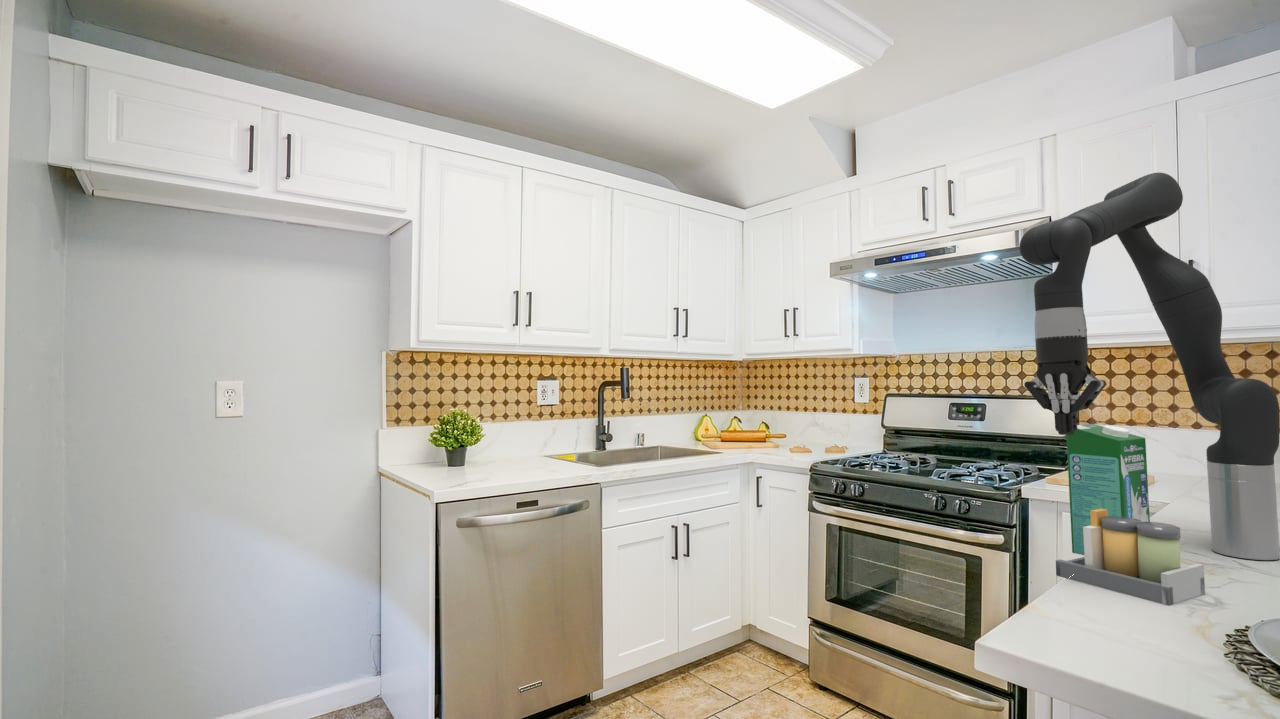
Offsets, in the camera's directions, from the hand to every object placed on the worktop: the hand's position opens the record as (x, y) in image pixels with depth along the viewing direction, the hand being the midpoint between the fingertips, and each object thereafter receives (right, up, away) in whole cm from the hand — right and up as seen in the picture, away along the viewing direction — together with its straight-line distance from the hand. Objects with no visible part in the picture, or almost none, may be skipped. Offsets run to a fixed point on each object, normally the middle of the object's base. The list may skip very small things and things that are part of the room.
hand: (1066, 434), depth 108 cm
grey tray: (+4, -24, -9) cm, 26 cm away
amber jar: (+4, -23, -8) cm, 25 cm away
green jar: (+6, -23, -12) cm, 27 cm away
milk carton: (+14, -25, +8) cm, 29 cm away
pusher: (+3, -23, -5) cm, 24 cm away
